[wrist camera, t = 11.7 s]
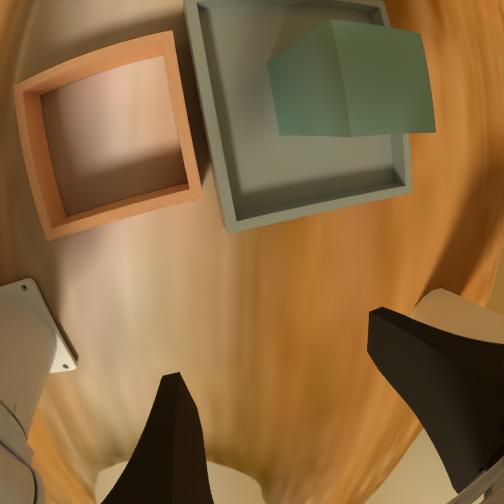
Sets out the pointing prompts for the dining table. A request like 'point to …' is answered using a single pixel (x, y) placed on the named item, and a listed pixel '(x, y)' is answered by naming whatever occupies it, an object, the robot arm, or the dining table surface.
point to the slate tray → (265, 122)
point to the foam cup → (459, 316)
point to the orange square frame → (38, 149)
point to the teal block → (352, 83)
